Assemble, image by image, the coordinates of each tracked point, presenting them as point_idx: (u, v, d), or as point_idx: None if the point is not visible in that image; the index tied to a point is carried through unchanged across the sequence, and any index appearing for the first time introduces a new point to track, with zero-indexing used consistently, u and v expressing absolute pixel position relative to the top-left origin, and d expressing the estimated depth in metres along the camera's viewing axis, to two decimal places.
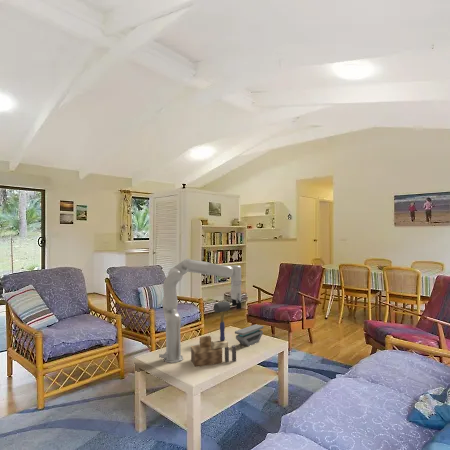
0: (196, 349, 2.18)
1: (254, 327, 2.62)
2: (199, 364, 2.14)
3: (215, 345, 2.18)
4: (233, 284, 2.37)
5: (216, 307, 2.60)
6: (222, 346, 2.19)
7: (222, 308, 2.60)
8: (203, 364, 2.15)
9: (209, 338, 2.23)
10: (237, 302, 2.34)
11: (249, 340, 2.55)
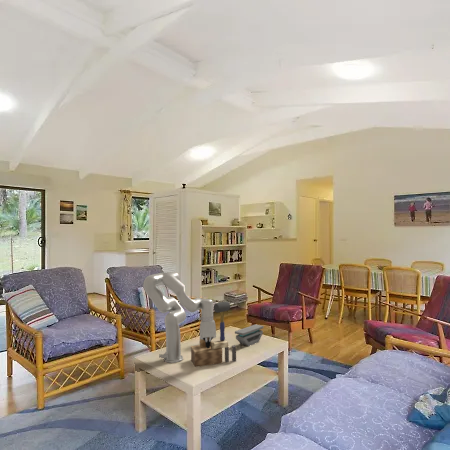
0: (196, 349, 2.18)
1: (254, 327, 2.62)
2: (199, 364, 2.14)
3: (215, 345, 2.18)
4: (212, 320, 2.16)
5: (216, 307, 2.60)
6: (222, 346, 2.19)
7: (222, 308, 2.60)
8: (203, 364, 2.15)
9: None
10: (210, 341, 2.16)
11: (249, 340, 2.55)
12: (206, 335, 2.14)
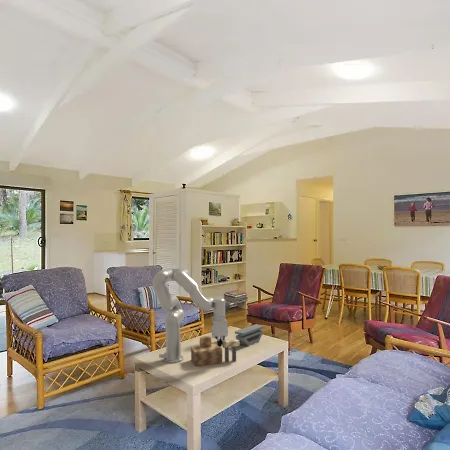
0: (196, 349, 2.18)
1: (254, 327, 2.62)
2: (199, 364, 2.14)
3: (227, 344, 2.20)
4: (224, 319, 2.18)
5: None
6: (233, 345, 2.21)
7: None
8: (203, 364, 2.15)
9: (209, 338, 2.23)
10: None
11: (249, 340, 2.55)
12: (218, 334, 2.17)
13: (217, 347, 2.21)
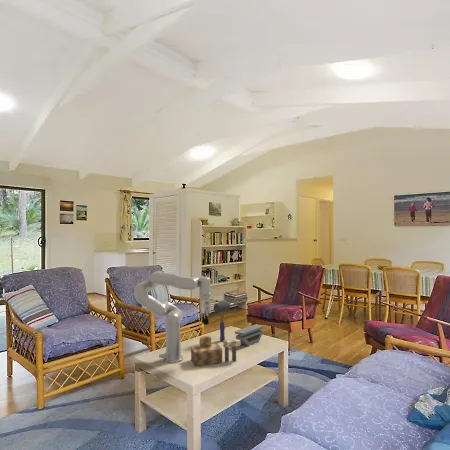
0: (196, 349, 2.18)
1: (254, 327, 2.62)
2: (199, 364, 2.14)
3: (228, 343, 2.20)
4: None
5: (216, 307, 2.60)
6: (235, 345, 2.21)
7: (222, 308, 2.60)
8: (203, 364, 2.15)
9: (209, 338, 2.23)
10: None
11: (249, 340, 2.55)
12: None
13: (217, 347, 2.21)
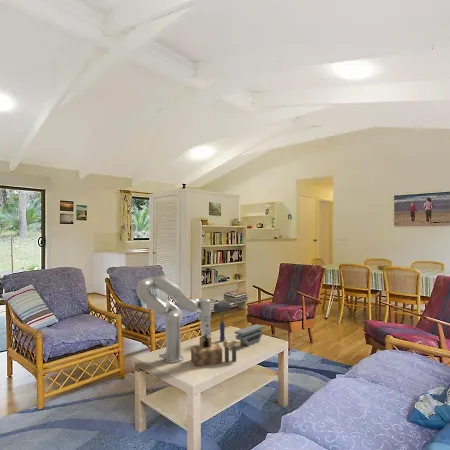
0: (196, 349, 2.18)
1: (254, 327, 2.62)
2: (199, 364, 2.14)
3: (228, 343, 2.20)
4: None
5: (216, 307, 2.60)
6: (235, 345, 2.21)
7: (222, 308, 2.60)
8: (203, 364, 2.15)
9: (209, 338, 2.23)
10: None
11: (249, 340, 2.55)
12: None
13: (217, 347, 2.21)
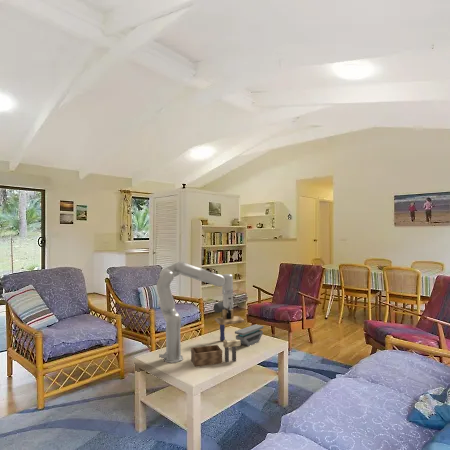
0: (220, 320, 2.33)
1: (254, 327, 2.62)
2: (199, 364, 2.14)
3: (228, 343, 2.20)
4: None
5: (216, 307, 2.60)
6: (235, 345, 2.21)
7: (222, 308, 2.60)
8: (203, 364, 2.15)
9: (231, 310, 2.39)
10: None
11: (249, 340, 2.55)
12: None
13: (239, 318, 2.37)
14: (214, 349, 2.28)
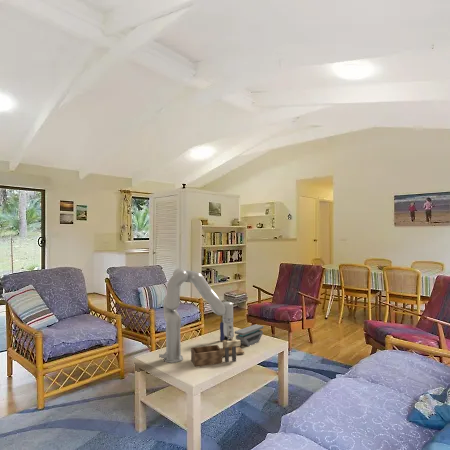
0: None
1: (254, 327, 2.62)
2: (199, 364, 2.14)
3: (228, 343, 2.20)
4: None
5: None
6: (235, 345, 2.21)
7: None
8: (203, 364, 2.15)
9: None
10: None
11: (249, 340, 2.55)
12: None
13: (239, 350, 2.36)
14: (214, 349, 2.28)
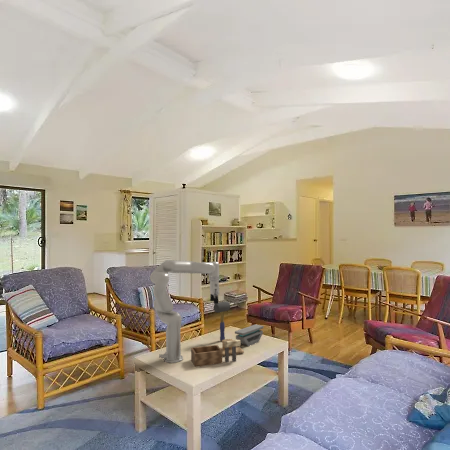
0: None
1: (254, 327, 2.62)
2: (199, 364, 2.14)
3: (228, 343, 2.20)
4: None
5: (216, 307, 2.60)
6: (235, 345, 2.21)
7: (222, 308, 2.60)
8: (203, 364, 2.15)
9: None
10: None
11: (249, 340, 2.55)
12: None
13: (239, 349, 2.37)
14: (214, 349, 2.28)
